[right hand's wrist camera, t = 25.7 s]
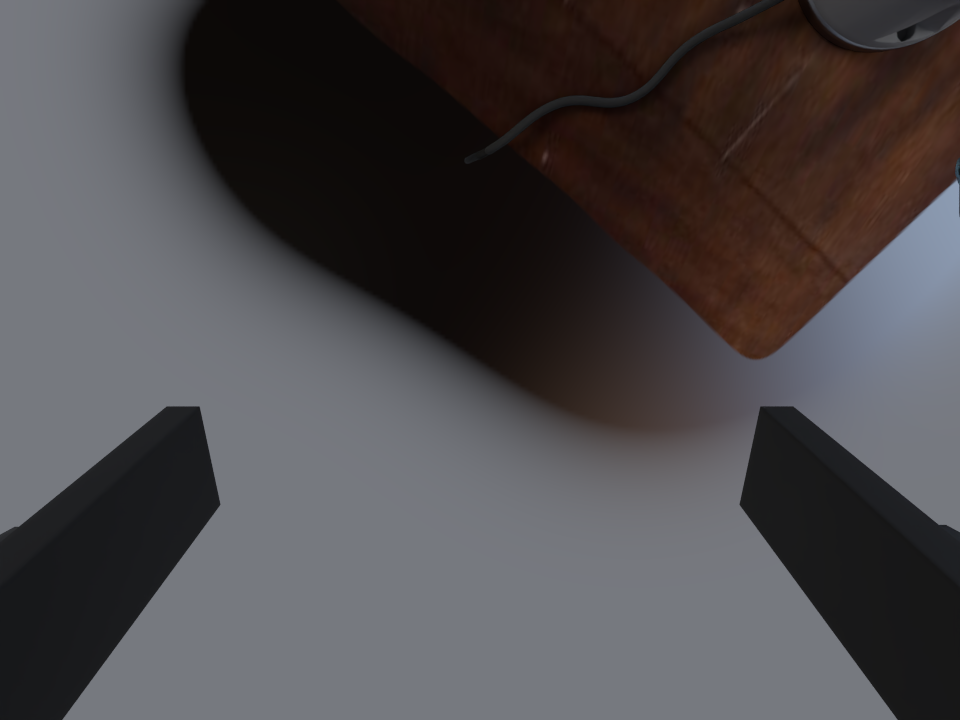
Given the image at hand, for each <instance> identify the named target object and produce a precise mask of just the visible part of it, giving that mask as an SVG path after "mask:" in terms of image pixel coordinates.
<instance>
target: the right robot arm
mask: <svg viewBox="0 0 960 720" xmlns="http://www.w3.org/2000/svg"><path fill="white" fill-rule="evenodd" d="M782 1H784V0H763V1H761V2H759V3H757V4H755V5H753V6H751V7H749V8H747V9H745V10H743V11H741V12H739V13H737V14H735V15H733V16H731V17H729V18H727V19H724V20H722V21H720V22H718V23H716V24H714V25H712V26H710V27H708V28H707V29H705V30H703V31H701V32H700V33H698V34H697V35H695V36H694V37H692V38H691V39H689V40H688V41H687V42H685V43H684V44H683V45H682V46H681V47H679V48H678V49H677V50H676V51H675V52H674V53H673V54H672V55H671V57H670V58H669V59H668V60H667V61H666V62H665V64H664V65H663V66H662V67H661V68H660V70H659V71H658V72H657V73H656V74H655V75H654V76H653V78H652V79H651V80H650V81H649V82H648V83H646V84H645V85H644V86H643V87H641V88H640V89H638V90H637V91H635V92H633V93H631V94H629V95H626V96H623V97H618V98H601V97H592V96H567V97H562V98H559V99H556V100H553V101H551V102H549V103H547V104H545V105H543V106H541V107H539V108H538V109H536V110H535V111H533V112H532V113H530V114H529V115H528V116H527V117H525V118H524V119H523V120H522V121H520V122H519V123H518V124H517V125H516V126H514V127H513V128H512V129H511V130H510V131H509V132H507V133H506V134H505V135H504V136H502V137H501V138H500V139H498V140H497V141H495V142H494V143H492V144H491V145H489V146H487V147H486V148H484V149H482V150H481V151H478V152H475V153H473V154H472V155H470V156H468V157H466V158H465V159H464V162H465V163H466V164H469V163H472V162H474V161H476V160H480V159H483V158H485V157H487V156H489V155H491V154H492V153H494V152H496V151H497V150H499V149H500V148H502V147H503V146H505V145H506V144H507V143H509V142H510V141H511V140H513V139H514V138H515V137H516V136H517V135H519V134H520V133H521V132H522V131H523V130H525V129H526V128H527V127H528V126H529V125H531V124H532V123H533V122H535V121H536V120H537V119H539V118H540V117H542V116H544V115H545V114H547V113H549V112H551V111H553V110H556V109H558V108H561V107H565V106H571V105H585V106H594V107H604V108H613V107H621V106H625V105H628V104H631V103H633V102H635V101H637V100H639V99H641V98H642V97H644V96H645V95H647V94H648V93H649V92H650V91H652V90H653V89H654V88H655V87H656V86H657V85H658V84H659V82H660V81H661V80H662V79H663V78H664V77H665V76H666V74H667V73H668V72H669V71H670V70H671V68H672V67H673V66H674V65H675V64H676V63H677V62H678V61H679V60H680V59H681V58H682V57H683V56H684V55H685V54H686V53H687V52H688V51H690V50H691V49H692V48H694V47H695V46H697V45H698V44H700V43H701V42H703V41H704V40H706V39H708V38H710V37H712V36H713V35H715V34H717V33H720V32H722V31H724V30H726V29H728V28H730V27H732V26H735V25H737V24H739V23H741V22H743V21H745V20H747V19H749V18H751V17H753V16H755V15H757V14H759V13H761V12H763V11H764V10H766V9H768V8H770V7H772V6H774V5H776V4H778V3H780V2H782ZM799 3H800V6H801V8H802V10H803V12H804V14H805V16H806V17H807V19H808V20H809V22H810V23H811V24H812V26H813V27H814V28H815V29H816V30H817V31H818V32H819V33H820V34H821V35H822V36H823V37H825V38H826V39H827V40H829V41H830V42H832V43H834V44H835V45H838V46H840V47H842V48H845V49H849V50H852V51H858V52H882V51H887V50H892V49H896V48H900V47H904V46H908V45H911V44H915V43H917V42H920V41H922V40H925V39H927V38H929V37H931V36H933V35H935V34H937V33H938V32H940V31H942V30H944V29H945V28H947V27H949V26H950V25H952V24H953V23H955V22H956V21H957V20H959V19H960V0H799ZM955 174H956V177H957V180H958V183H959V185H960V158H959V159H958V161H957V164H956V169H955ZM959 188H960V187H959ZM959 215H960V189H959ZM219 506H220V501H219V496H218V491H217V486H216V482H215V477H214V472H213V468H212V463H211V459H210V453H209V449H208V444H207V439H206V435H205V430H204V425H203V421H202V416H201V411H200V407H166V408H164V409H163V410H162V411H161V412H160V413H158V414H157V415H156V416H155V417H153V418H152V419H151V420H150V421H148V422H147V423H146V424H145V425H144V426H142V427H141V428H140V429H139V430H137V431H136V432H135V433H134V434H132V435H131V436H130V437H129V438H128V439H126V440H125V441H124V442H123V443H121V444H120V445H119V446H118V447H117V448H115V449H114V450H113V451H112V452H110V453H109V454H108V455H107V456H105V457H104V458H103V459H102V460H101V461H99V462H98V463H97V464H96V465H94V466H93V467H92V468H91V469H89V470H88V471H87V472H86V473H85V474H83V475H82V476H81V477H80V478H78V479H77V480H76V481H75V482H74V483H72V484H71V485H70V486H69V487H67V488H66V489H65V490H64V491H62V492H61V493H60V494H59V495H57V496H56V497H55V498H54V499H53V500H51V501H50V502H49V503H48V504H46V505H45V506H44V507H43V508H42V509H40V510H39V511H38V512H37V513H35V514H34V515H33V516H32V517H30V518H29V519H28V520H27V521H26V522H24V523H23V524H22V525H21V526H19V527H14V528H12V529H10V530H8V531H6V532H4V533H3V534H1V535H0V720H62V719H63V718H64V717H65V715H66V714H67V713H68V711H69V710H70V708H71V707H72V706H73V704H74V703H75V702H76V700H77V699H78V698H79V696H80V695H81V693H82V692H83V691H84V689H85V688H86V687H87V685H88V684H89V683H90V681H91V680H92V679H93V677H94V676H95V674H96V673H97V672H98V670H99V669H100V668H101V666H102V665H103V664H104V662H105V661H106V660H107V658H108V657H109V655H110V654H111V653H112V651H113V650H114V649H115V647H116V646H117V645H118V643H119V642H120V640H121V639H122V638H123V636H124V635H125V634H126V632H127V631H128V630H129V628H130V627H131V626H132V624H133V623H134V621H135V620H136V619H137V617H138V616H139V615H140V613H141V612H142V611H143V609H144V608H145V607H146V605H147V604H148V602H149V601H150V600H151V598H152V597H153V596H154V594H155V593H156V592H157V590H158V589H159V587H160V586H161V585H162V583H163V582H164V581H165V579H166V578H167V577H168V575H169V574H170V572H171V571H172V570H173V568H174V567H175V566H176V564H177V563H178V562H179V560H180V559H181V558H182V556H183V555H184V553H185V552H186V551H187V549H188V548H189V547H190V545H191V544H192V543H193V541H194V540H195V538H196V537H197V536H198V534H199V533H200V532H201V530H202V529H203V528H204V526H205V525H206V524H207V522H208V521H209V519H210V518H211V517H212V515H213V514H214V513H215V511H216V510H217V509H218V507H219ZM740 506H741V507H742V509H743V510H744V511H745V513H746V514H747V515H748V517H749V518H750V519H751V521H752V522H753V524H754V525H755V526H756V527H757V529H758V530H759V532H760V533H761V534H762V536H763V537H764V538H765V540H766V541H767V543H768V544H769V545H770V547H771V548H772V549H773V551H774V552H775V553H776V555H777V556H778V558H779V559H780V560H781V562H782V563H783V564H784V566H785V567H786V568H787V570H788V571H789V573H790V574H791V575H792V577H793V578H794V579H795V581H796V582H797V583H798V585H799V586H800V587H801V589H802V590H803V592H804V593H805V594H806V596H807V597H808V598H809V600H810V601H811V602H812V604H813V605H814V606H815V608H816V609H817V611H818V612H819V613H820V615H821V616H822V617H823V619H824V620H825V621H826V623H827V624H828V626H829V627H830V628H831V630H832V631H833V632H834V634H835V635H836V636H837V638H838V639H839V640H840V642H841V643H842V645H843V646H844V647H845V648H846V650H847V651H848V653H849V654H850V655H851V657H852V658H853V660H854V661H855V662H856V663H857V665H858V666H859V668H860V669H861V670H862V672H863V673H864V674H865V676H866V677H867V679H868V680H869V681H870V683H871V684H872V685H873V687H874V688H875V689H876V691H877V692H878V693H879V695H880V696H881V698H882V699H883V700H884V702H885V703H886V704H887V706H888V707H889V708H890V710H891V711H892V713H893V714H894V715H895V717H896V718H897V719H898V720H960V532H958V531H956V530H954V529H952V528H951V527H949V526H947V525H938V524H937V523H936V522H934V521H933V520H932V519H931V518H930V517H928V516H927V515H926V514H925V513H923V512H922V511H921V510H920V509H918V508H917V507H916V506H915V505H914V504H912V503H911V502H910V501H909V500H907V499H906V498H905V497H904V496H902V495H901V494H900V493H899V492H898V491H896V490H895V489H894V488H893V487H891V486H890V485H889V484H888V483H887V482H885V481H884V480H883V479H882V478H880V477H879V476H878V475H877V474H875V473H874V472H873V471H872V470H871V469H869V468H868V467H867V466H866V465H864V464H863V463H862V462H861V461H859V460H858V459H857V458H856V457H855V456H853V455H852V454H851V453H850V452H848V451H847V450H846V449H845V448H844V447H842V446H841V445H840V444H839V443H837V442H836V441H835V440H834V439H832V438H831V437H830V436H829V435H828V434H826V433H825V432H824V431H823V430H821V429H820V428H819V427H818V426H816V425H815V424H814V423H813V422H812V421H810V420H809V419H808V418H807V417H805V416H804V415H803V414H802V413H800V412H799V411H798V410H797V409H796V408H794V407H760V411H759V416H758V421H757V425H756V430H755V435H754V439H753V444H752V449H751V453H750V458H749V463H748V468H747V472H746V477H745V482H744V486H743V491H742V496H741V501H740Z"/></svg>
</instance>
